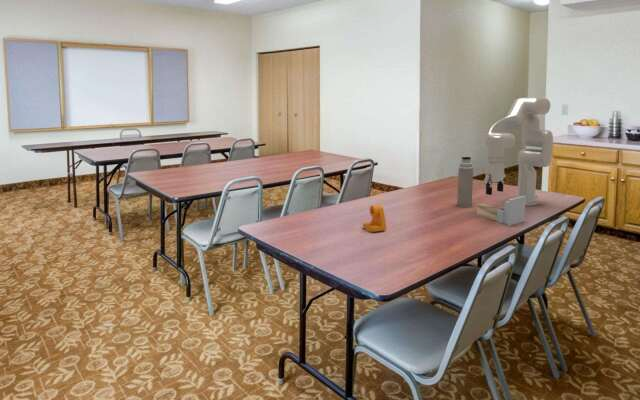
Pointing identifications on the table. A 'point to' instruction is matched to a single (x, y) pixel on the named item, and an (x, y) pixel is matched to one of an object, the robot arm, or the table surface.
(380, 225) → the bracket
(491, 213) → the tan and gray block
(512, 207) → the gray forked clamp
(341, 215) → the table surface
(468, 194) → the thermos bottle
